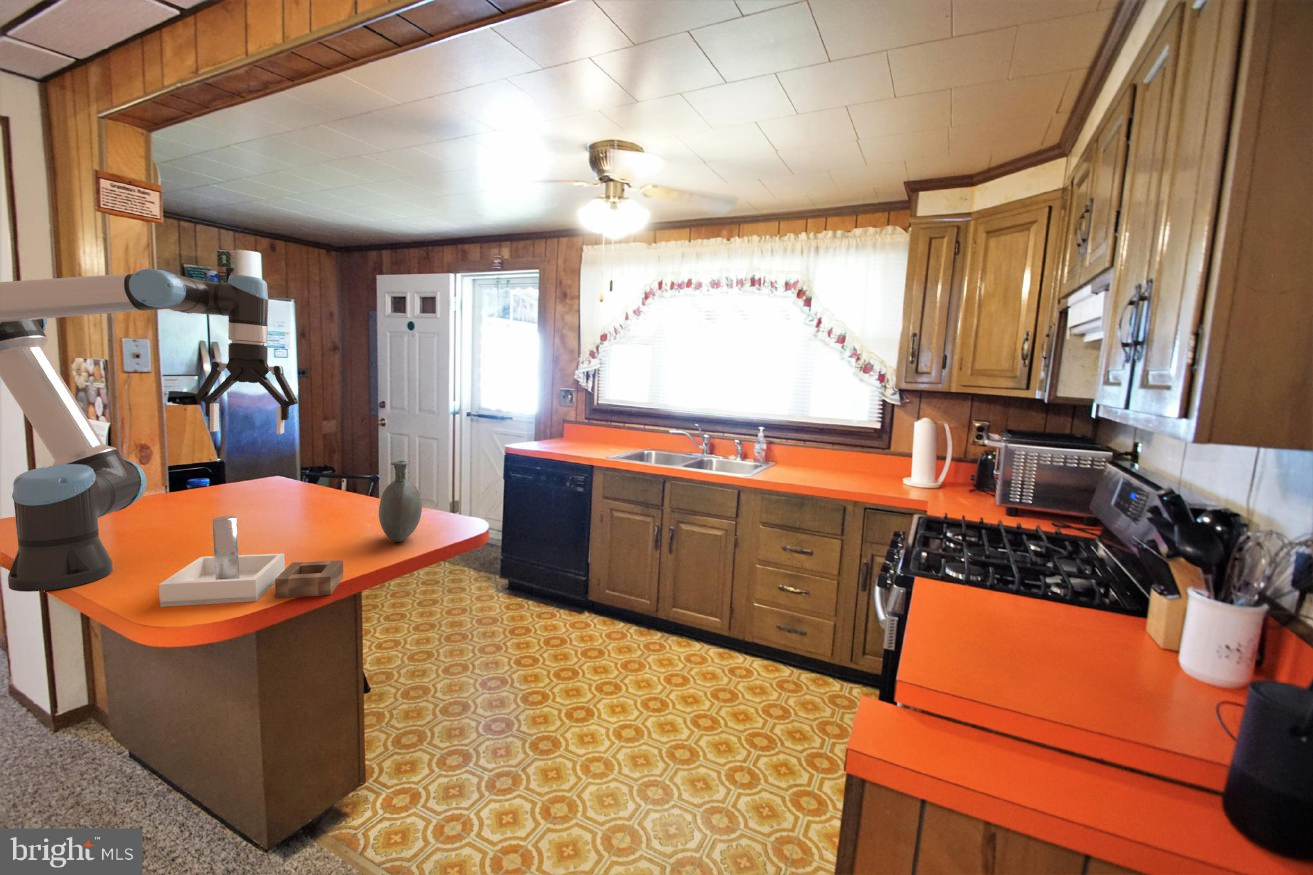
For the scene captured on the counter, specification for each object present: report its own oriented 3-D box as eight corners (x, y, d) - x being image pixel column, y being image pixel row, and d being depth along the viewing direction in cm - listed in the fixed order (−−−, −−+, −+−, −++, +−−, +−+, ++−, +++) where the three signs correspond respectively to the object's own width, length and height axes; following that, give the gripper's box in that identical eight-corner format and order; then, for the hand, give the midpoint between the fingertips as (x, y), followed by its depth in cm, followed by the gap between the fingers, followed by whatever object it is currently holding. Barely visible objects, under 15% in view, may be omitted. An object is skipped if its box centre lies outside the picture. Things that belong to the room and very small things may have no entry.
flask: (362, 548, 146) (361, 465, 143) (396, 530, 163) (395, 455, 160) (406, 551, 146) (405, 467, 143) (435, 532, 162) (435, 457, 160)
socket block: (275, 598, 114) (274, 579, 114) (292, 579, 124) (292, 562, 123) (330, 594, 117) (330, 576, 116) (343, 577, 126) (342, 560, 126)
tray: (160, 606, 108) (158, 584, 107) (201, 576, 123) (200, 556, 122) (256, 601, 112) (255, 579, 112) (285, 572, 127) (284, 553, 127)
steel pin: (211, 587, 115) (208, 521, 113) (220, 580, 119) (218, 516, 117) (234, 586, 116) (231, 520, 115) (242, 579, 120) (240, 515, 118)
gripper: (312, 348, 140) (311, 432, 142) (193, 339, 133) (193, 428, 135) (303, 347, 133) (301, 436, 135) (176, 337, 126) (177, 431, 128)
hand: (247, 432), depth 135 cm, fingers open, 13 cm apart
